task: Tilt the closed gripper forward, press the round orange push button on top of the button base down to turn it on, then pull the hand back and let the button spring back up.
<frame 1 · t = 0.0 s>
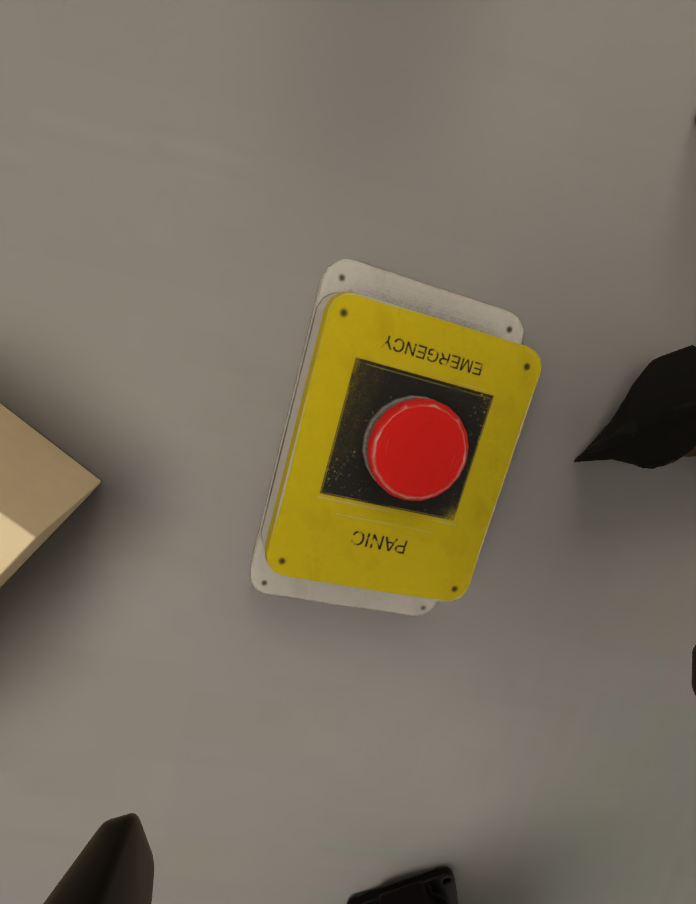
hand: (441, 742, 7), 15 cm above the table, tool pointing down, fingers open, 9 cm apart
emergency button: (381, 451, 22), on the table
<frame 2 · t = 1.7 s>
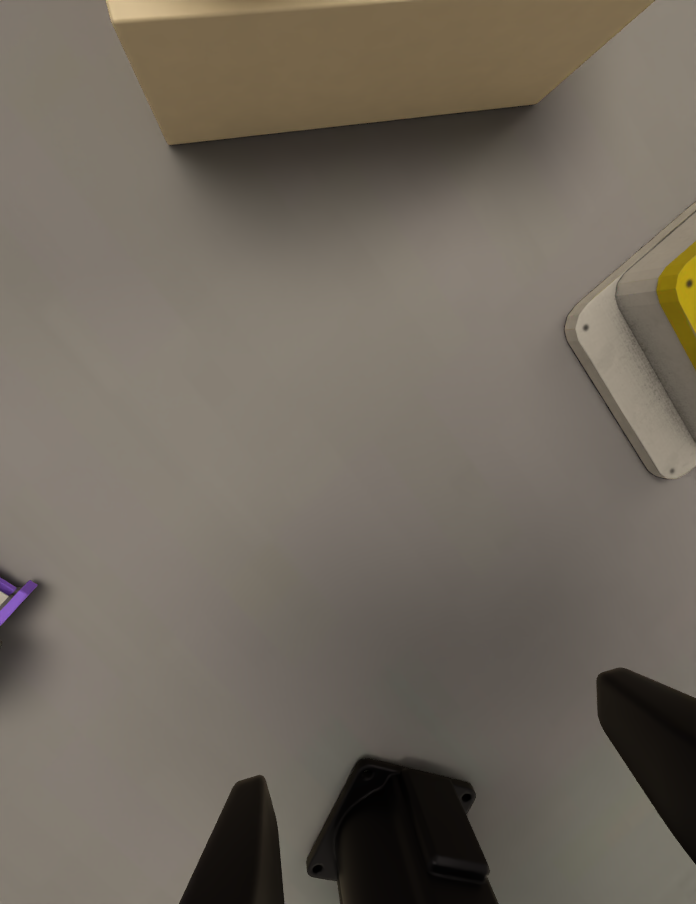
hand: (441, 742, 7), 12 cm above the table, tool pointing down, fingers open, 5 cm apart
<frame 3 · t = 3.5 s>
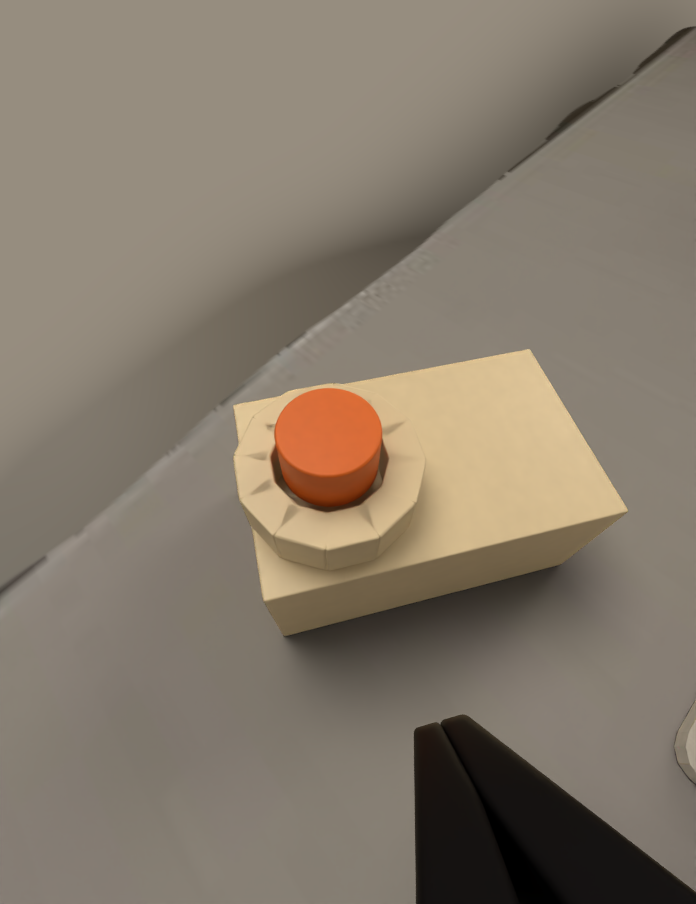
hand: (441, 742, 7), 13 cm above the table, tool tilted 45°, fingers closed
button base: (401, 518, 23), on the table
round orange push button: (329, 447, 15), point 9 cm above the table, slide at 0.1 cm
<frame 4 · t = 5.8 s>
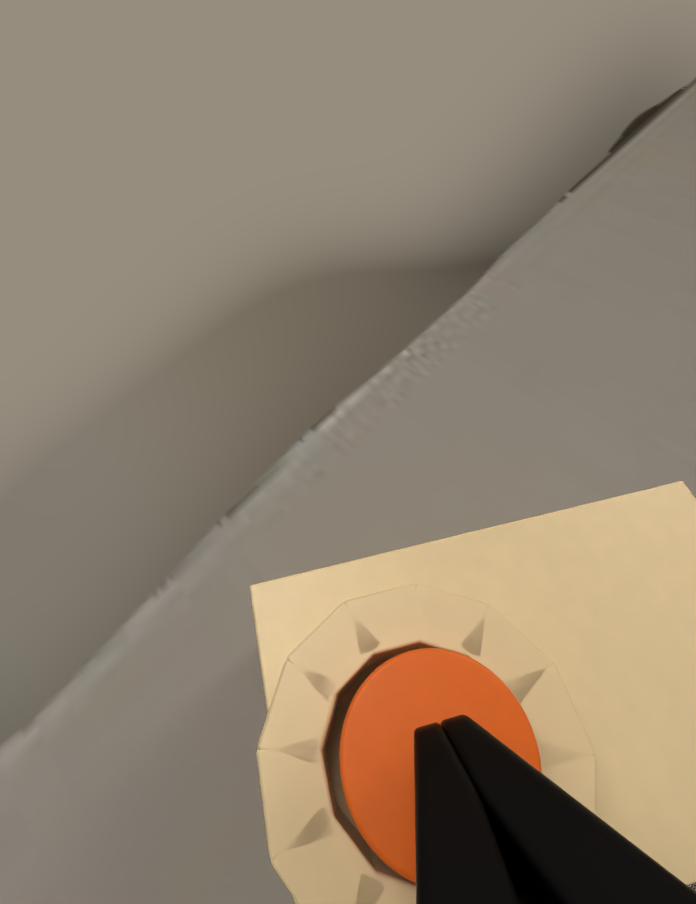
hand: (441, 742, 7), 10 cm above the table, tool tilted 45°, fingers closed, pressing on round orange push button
button base: (481, 699, 16), on the table
round orange push button: (430, 753, 8), point 8 cm above the table, slide at -0.1 cm, touching gripper
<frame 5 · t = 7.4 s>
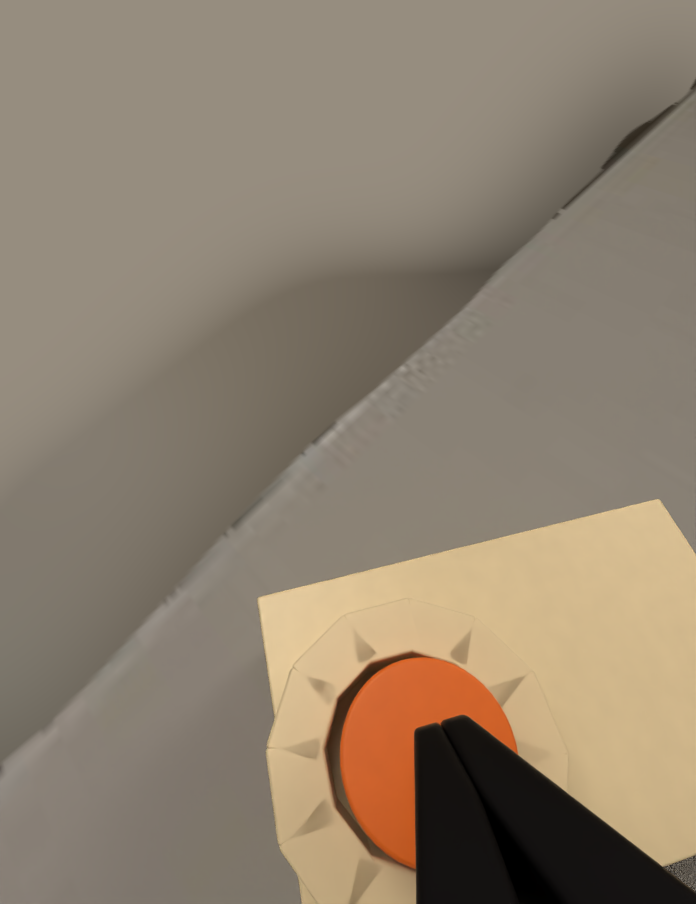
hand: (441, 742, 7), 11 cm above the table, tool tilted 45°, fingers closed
button base: (473, 701, 17), on the table
round orange push button: (421, 752, 9), point 9 cm above the table, slide at 0.1 cm
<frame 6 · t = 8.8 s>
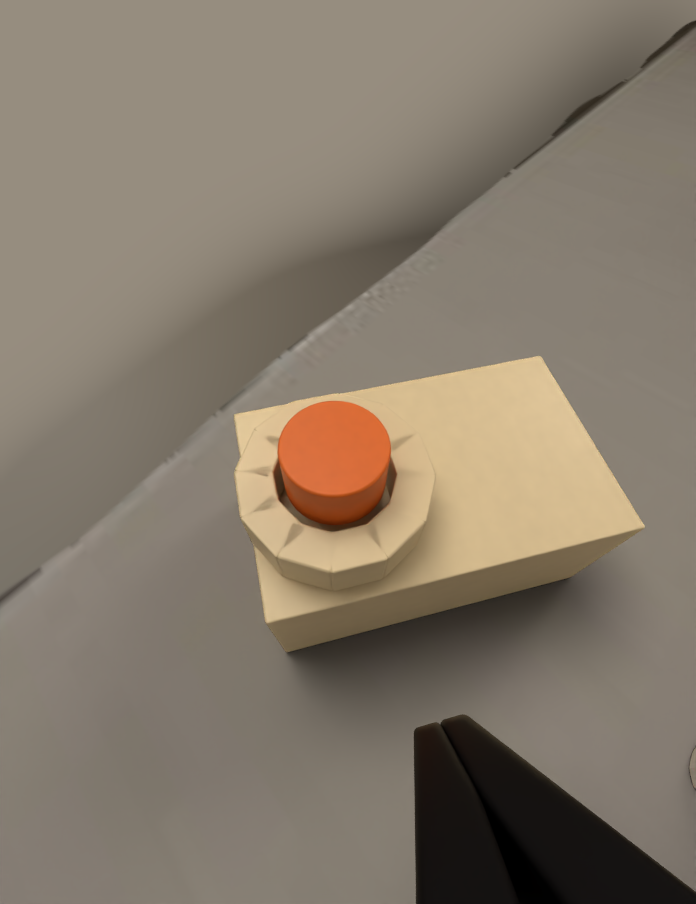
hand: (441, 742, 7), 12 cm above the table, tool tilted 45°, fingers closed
button base: (406, 528, 22), on the table
round orange push button: (334, 463, 14), point 9 cm above the table, slide at 0.1 cm
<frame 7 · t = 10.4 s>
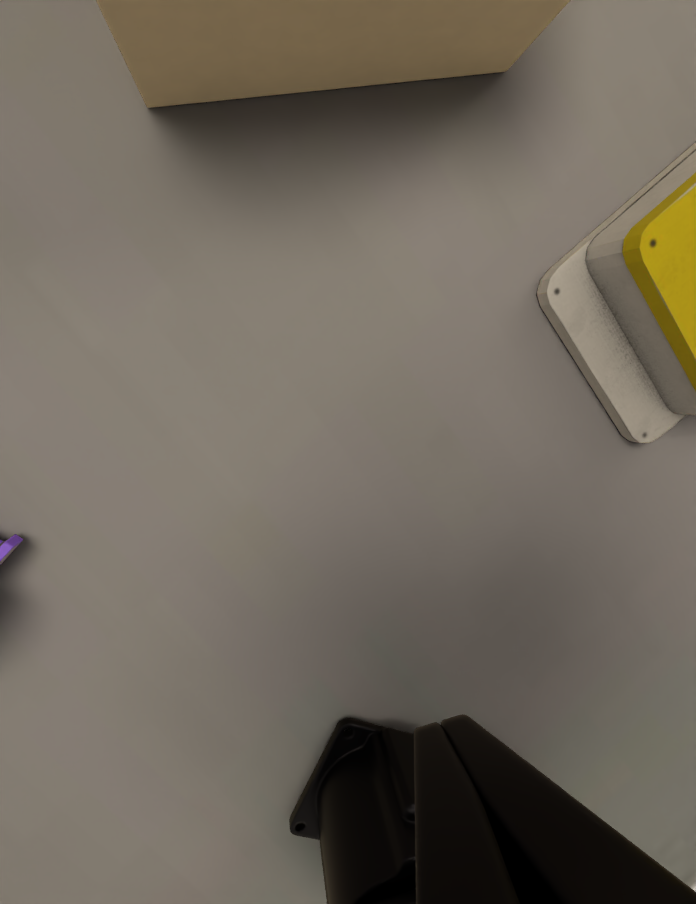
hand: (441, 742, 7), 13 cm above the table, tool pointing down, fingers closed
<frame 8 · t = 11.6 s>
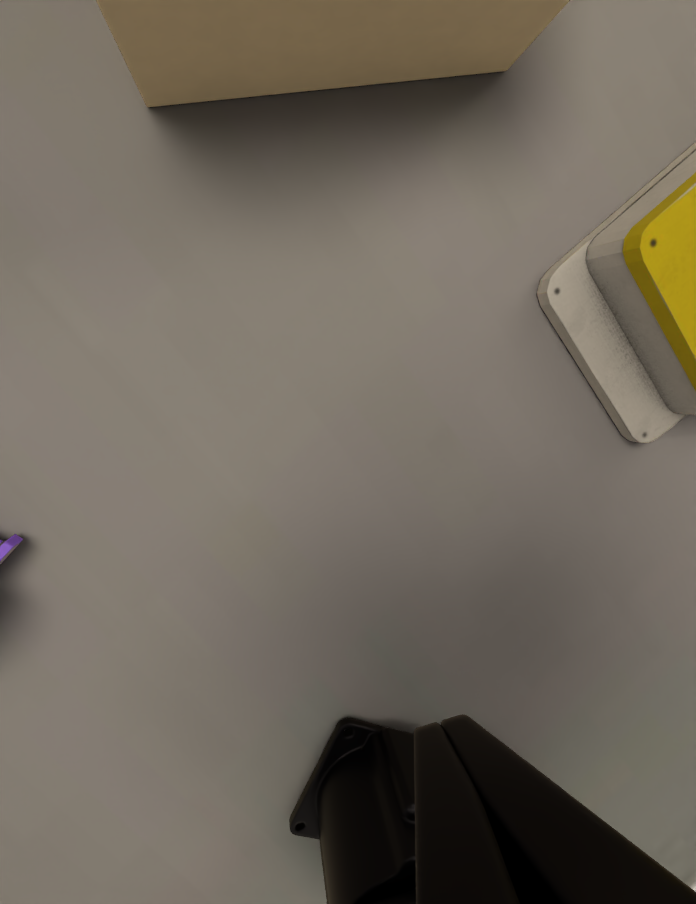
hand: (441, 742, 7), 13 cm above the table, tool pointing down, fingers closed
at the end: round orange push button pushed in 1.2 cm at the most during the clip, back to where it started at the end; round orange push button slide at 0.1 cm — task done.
